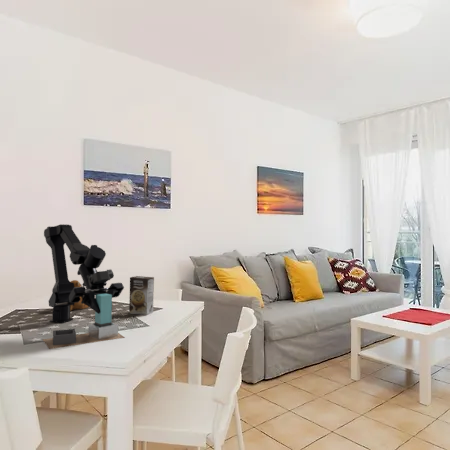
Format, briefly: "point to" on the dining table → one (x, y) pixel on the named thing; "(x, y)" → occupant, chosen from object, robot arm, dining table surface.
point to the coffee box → (141, 295)
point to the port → (103, 331)
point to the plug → (104, 310)
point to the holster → (64, 336)
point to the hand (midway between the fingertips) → (105, 311)
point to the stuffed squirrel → (79, 304)
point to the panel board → (79, 340)
